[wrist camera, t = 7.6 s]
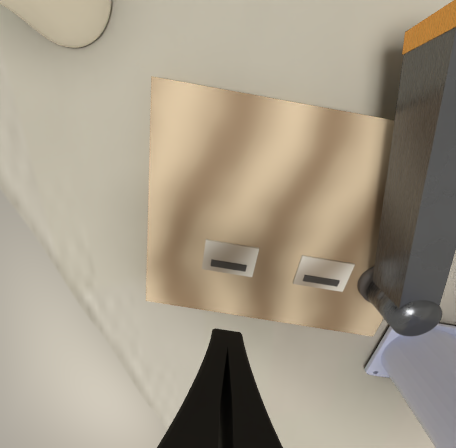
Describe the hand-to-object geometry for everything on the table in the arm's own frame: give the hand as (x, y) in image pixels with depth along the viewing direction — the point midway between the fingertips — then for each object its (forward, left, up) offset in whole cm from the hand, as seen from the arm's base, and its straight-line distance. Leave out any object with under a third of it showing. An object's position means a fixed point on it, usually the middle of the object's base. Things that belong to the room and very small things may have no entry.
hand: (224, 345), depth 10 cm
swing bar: (-11, -7, -7) cm, 15 cm away
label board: (-4, -3, -9) cm, 11 cm away
